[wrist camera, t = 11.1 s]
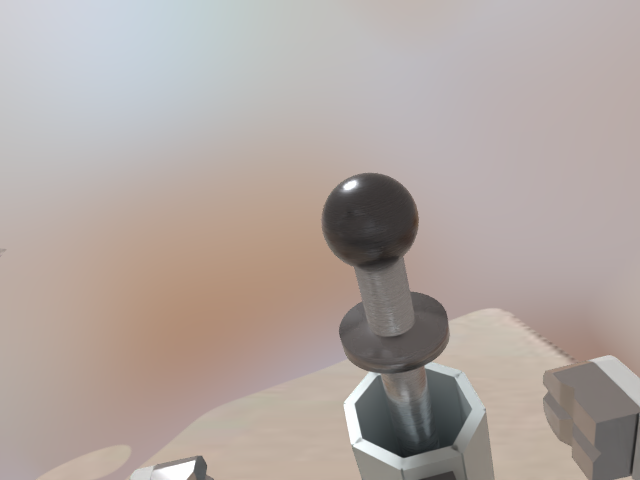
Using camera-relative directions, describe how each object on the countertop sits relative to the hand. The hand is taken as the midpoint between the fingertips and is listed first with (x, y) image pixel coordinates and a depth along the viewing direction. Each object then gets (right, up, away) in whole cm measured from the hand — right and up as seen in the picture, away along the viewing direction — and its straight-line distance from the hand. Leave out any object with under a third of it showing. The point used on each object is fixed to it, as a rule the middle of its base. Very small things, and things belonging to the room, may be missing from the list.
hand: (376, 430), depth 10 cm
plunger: (+7, -15, +21) cm, 27 cm away
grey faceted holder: (+8, -18, +21) cm, 28 cm away
